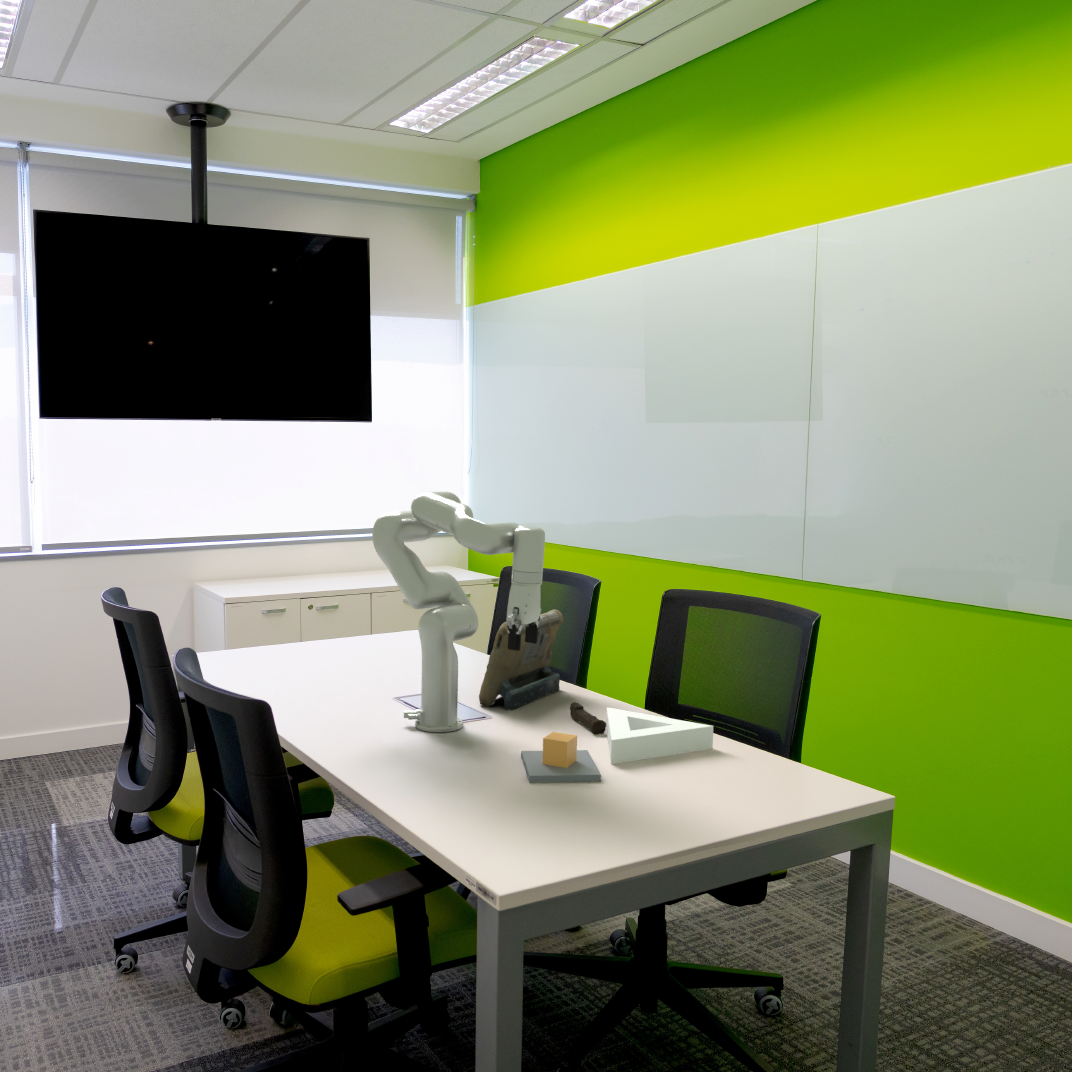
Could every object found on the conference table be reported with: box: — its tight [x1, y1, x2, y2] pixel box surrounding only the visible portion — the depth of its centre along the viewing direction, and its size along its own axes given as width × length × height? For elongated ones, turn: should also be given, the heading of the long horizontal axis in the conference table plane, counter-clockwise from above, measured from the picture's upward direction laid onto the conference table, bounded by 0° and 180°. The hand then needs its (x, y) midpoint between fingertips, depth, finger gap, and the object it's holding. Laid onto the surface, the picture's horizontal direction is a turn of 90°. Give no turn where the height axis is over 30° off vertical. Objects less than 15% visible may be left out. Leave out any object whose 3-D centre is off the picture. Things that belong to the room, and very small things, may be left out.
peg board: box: [520, 749, 602, 783], centre depth 226 cm, size 16×18×6 cm
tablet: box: [478, 609, 564, 711], centre depth 291 cm, size 33×14×25 cm, turn 156°
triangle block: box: [605, 706, 714, 765], centre depth 245 cm, size 30×26×6 cm
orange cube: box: [542, 731, 578, 768], centre depth 226 cm, size 6×6×6 cm
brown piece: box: [569, 701, 606, 736], centre depth 264 cm, size 19×4×5 cm, turn 19°
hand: (522, 646), depth 242 cm, fingers open, 9 cm apart
